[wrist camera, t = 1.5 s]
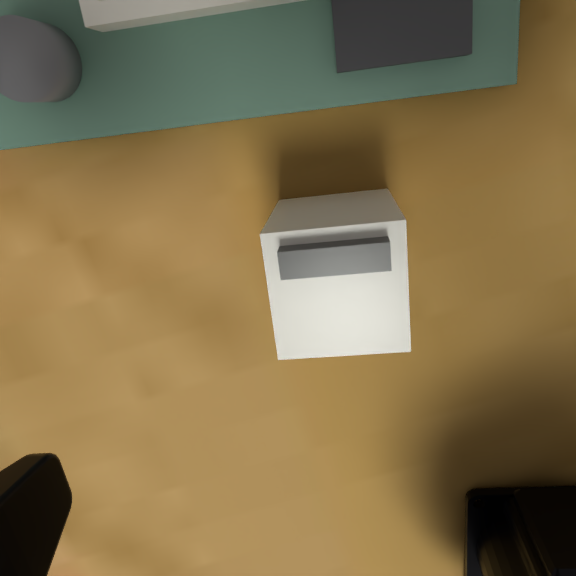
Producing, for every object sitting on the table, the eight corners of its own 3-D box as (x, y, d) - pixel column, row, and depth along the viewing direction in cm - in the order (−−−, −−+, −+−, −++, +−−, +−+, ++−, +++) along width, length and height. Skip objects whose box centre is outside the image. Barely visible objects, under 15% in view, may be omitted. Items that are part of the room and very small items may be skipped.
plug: (392, 290, 19) (414, 361, 14) (291, 298, 20) (276, 370, 14) (387, 188, 18) (409, 225, 12) (279, 199, 18) (256, 239, 13)
